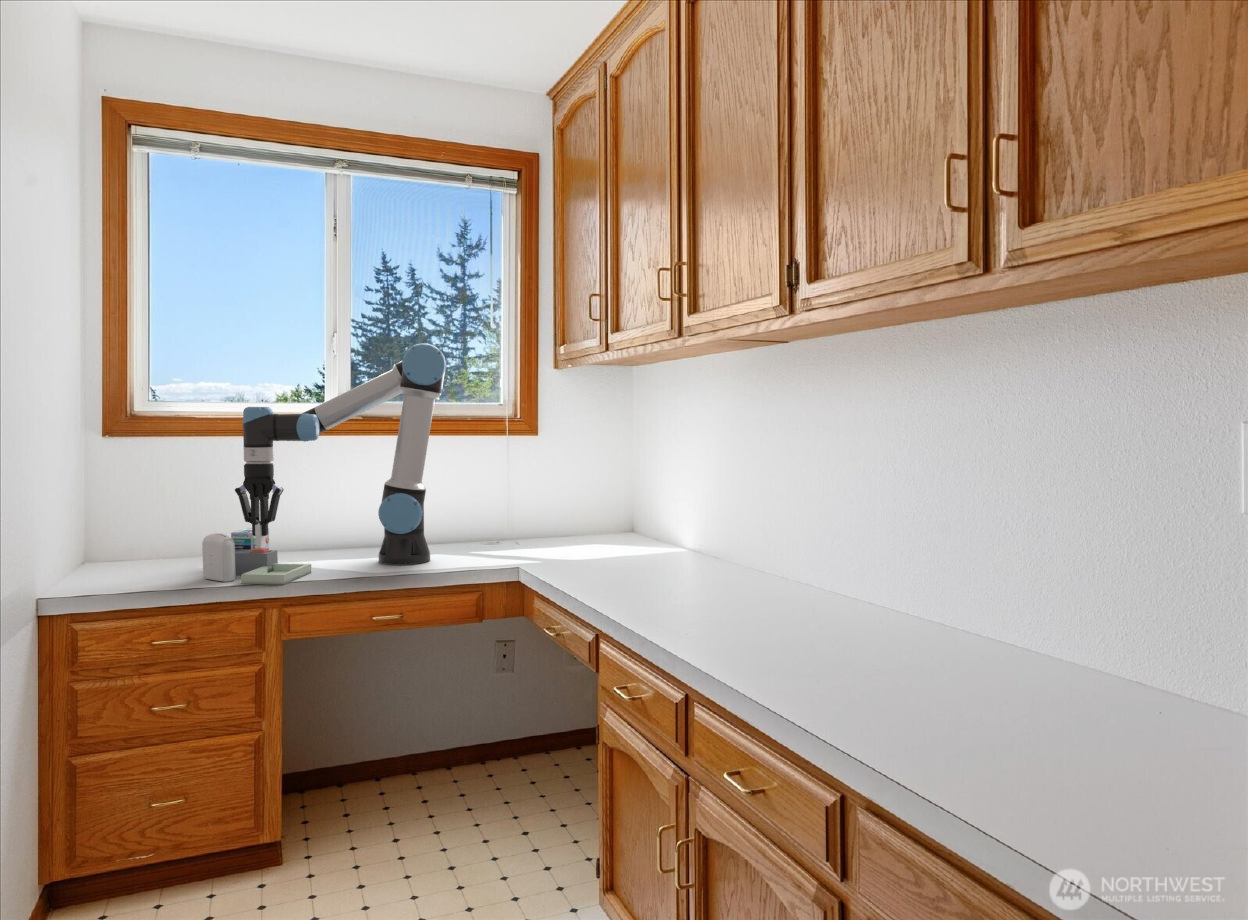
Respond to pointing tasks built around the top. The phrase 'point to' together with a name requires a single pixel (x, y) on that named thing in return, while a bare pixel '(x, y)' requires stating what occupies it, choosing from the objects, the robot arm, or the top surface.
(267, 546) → the light bulb box
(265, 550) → the button
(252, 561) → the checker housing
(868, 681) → the top surface
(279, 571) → the pale green tray
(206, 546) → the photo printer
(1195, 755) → the top surface
